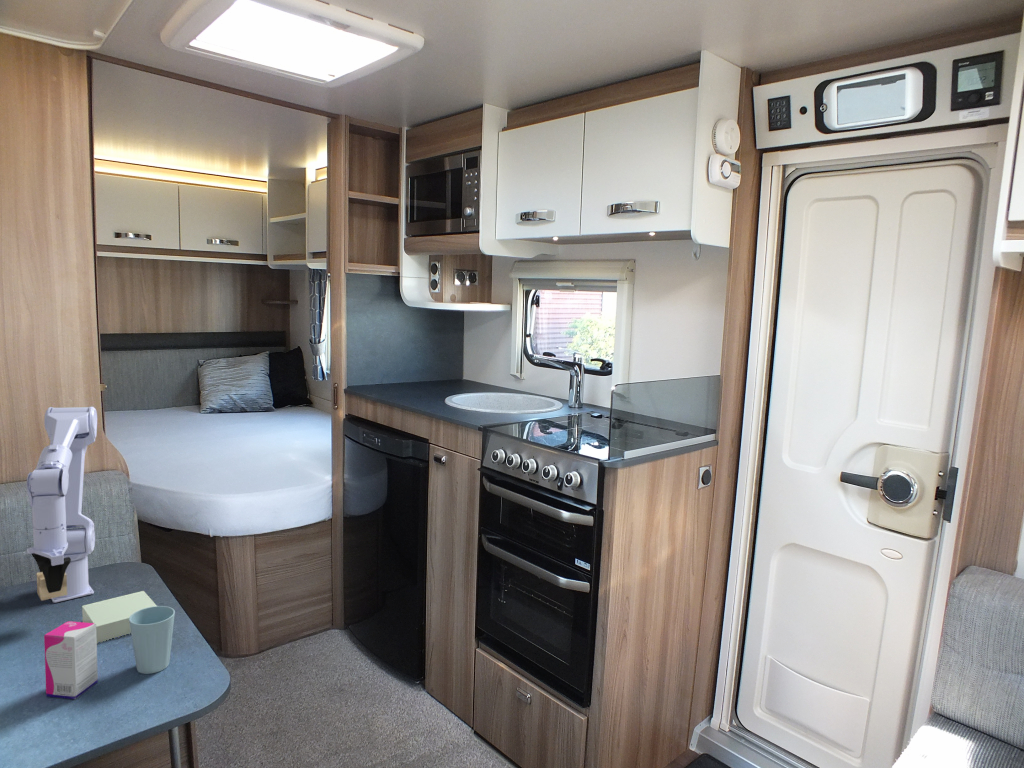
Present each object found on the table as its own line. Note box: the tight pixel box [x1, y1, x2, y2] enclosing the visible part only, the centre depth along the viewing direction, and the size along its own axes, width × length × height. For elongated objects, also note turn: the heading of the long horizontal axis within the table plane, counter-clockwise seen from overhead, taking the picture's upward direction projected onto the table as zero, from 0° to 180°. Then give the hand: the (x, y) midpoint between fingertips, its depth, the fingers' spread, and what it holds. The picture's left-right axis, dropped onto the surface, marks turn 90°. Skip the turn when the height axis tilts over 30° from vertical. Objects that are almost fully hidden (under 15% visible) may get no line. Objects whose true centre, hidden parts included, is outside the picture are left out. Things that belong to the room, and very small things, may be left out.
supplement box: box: [43, 620, 99, 700], centre depth 118 cm, size 6×6×12 cm
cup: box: [129, 605, 176, 675], centre depth 127 cm, size 8×8×10 cm
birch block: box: [36, 571, 67, 602], centre depth 140 cm, size 4×4×4 cm
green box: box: [81, 590, 158, 644], centre depth 143 cm, size 12×12×4 cm
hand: (52, 587), depth 140 cm, fingers closed on birch block, 4 cm apart
